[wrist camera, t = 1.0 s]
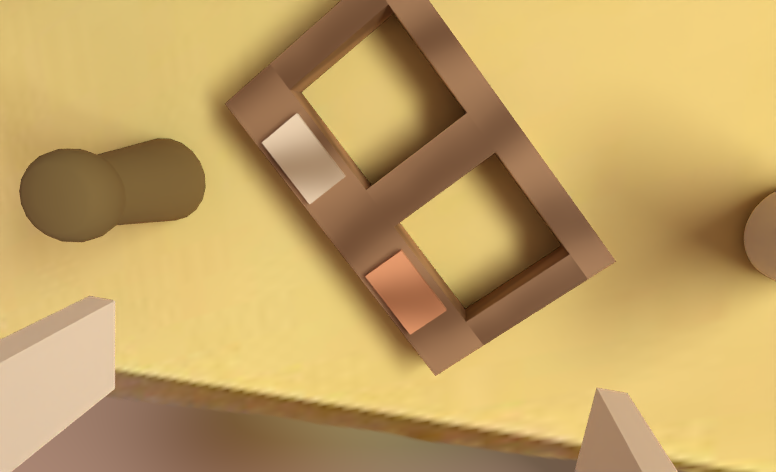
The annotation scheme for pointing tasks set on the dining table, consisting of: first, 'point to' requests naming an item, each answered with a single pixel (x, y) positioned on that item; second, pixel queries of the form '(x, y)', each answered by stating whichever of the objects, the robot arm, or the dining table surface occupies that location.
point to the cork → (110, 188)
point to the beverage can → (762, 237)
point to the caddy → (413, 182)
